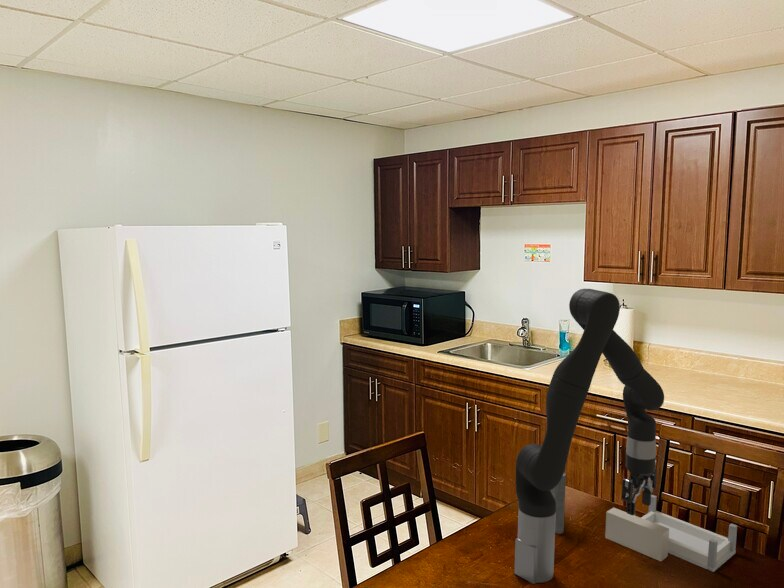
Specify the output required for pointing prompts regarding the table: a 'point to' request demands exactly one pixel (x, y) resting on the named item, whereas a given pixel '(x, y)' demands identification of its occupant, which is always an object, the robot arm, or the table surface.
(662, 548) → the panel
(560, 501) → the hip flask
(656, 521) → the rack
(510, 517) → the table surface
